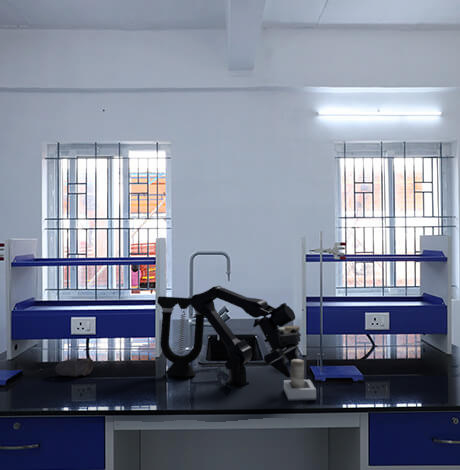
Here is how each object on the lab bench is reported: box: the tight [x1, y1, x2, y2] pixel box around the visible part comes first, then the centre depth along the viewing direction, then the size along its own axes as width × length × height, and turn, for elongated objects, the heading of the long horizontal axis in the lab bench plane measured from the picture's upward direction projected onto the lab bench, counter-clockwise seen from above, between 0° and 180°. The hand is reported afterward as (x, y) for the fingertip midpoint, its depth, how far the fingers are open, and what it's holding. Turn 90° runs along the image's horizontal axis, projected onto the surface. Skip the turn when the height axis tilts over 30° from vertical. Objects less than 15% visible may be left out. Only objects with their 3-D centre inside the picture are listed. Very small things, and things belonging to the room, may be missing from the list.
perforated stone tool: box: [55, 357, 94, 378], centre depth 167 cm, size 15×5×7 cm, turn 85°
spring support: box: [157, 295, 205, 378], centre depth 167 cm, size 21×12×30 cm, turn 81°
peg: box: [290, 358, 305, 388], centre depth 144 cm, size 4×4×11 cm
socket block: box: [283, 379, 317, 402], centre depth 144 cm, size 9×9×4 cm
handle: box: [284, 325, 301, 347], centre depth 181 cm, size 5×6×15 cm
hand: (294, 373), depth 144 cm, fingers open, 9 cm apart
